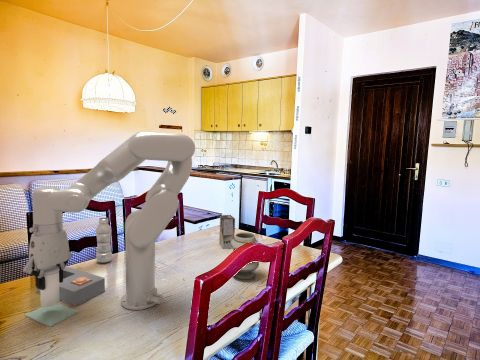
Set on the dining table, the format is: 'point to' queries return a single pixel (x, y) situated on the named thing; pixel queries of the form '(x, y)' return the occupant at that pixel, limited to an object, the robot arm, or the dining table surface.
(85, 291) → the housing
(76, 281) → the square push button
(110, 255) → the plastic bottle
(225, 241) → the coffee box
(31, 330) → the dining table surface
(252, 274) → the apothecary jar
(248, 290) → the dining table surface
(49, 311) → the mat
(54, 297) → the cylinder
